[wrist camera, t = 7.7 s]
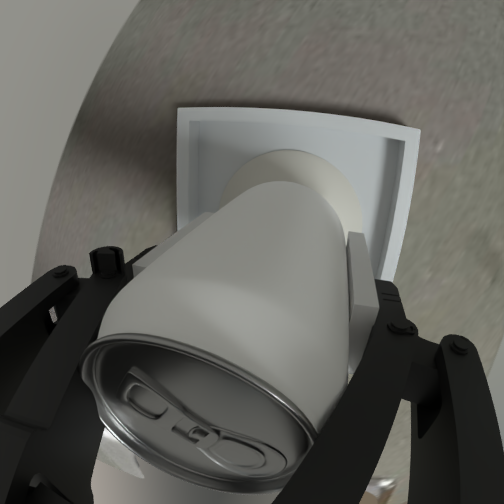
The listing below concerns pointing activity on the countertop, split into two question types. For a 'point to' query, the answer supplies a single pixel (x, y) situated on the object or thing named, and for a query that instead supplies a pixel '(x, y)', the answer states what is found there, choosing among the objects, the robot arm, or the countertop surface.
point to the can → (230, 344)
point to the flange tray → (302, 167)
